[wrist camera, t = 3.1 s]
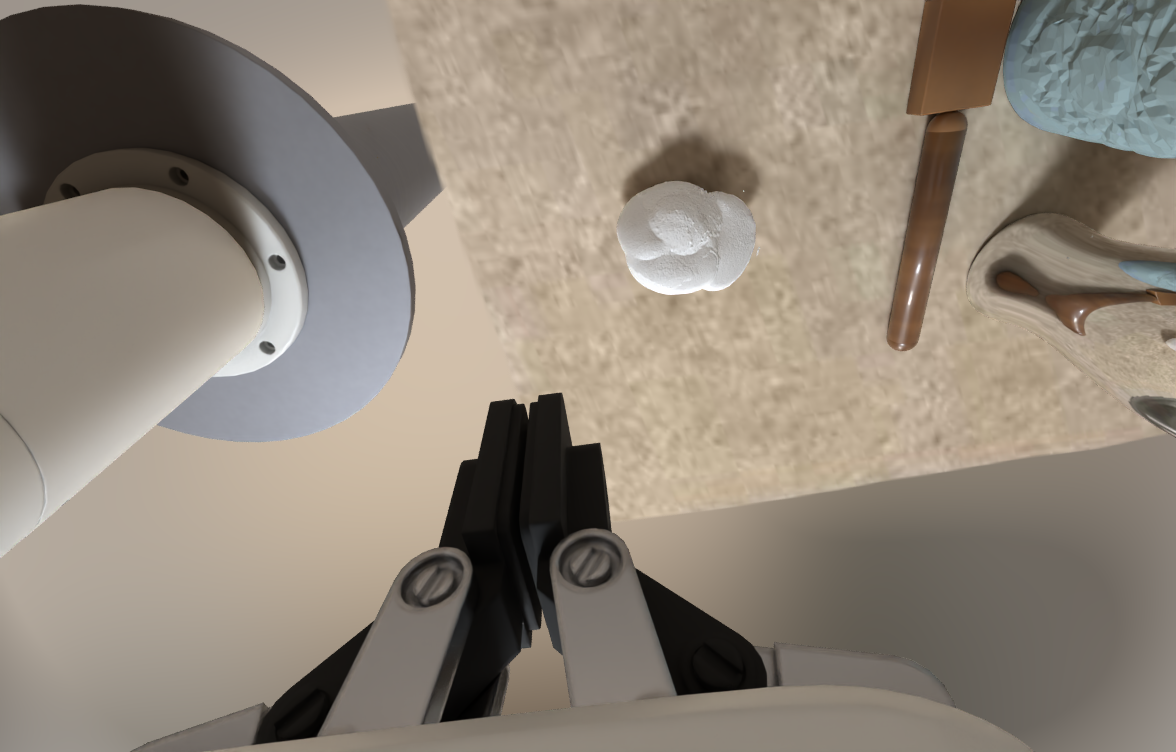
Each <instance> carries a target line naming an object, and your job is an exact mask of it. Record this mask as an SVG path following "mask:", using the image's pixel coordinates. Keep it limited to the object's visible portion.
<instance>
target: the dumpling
mask: <svg viewBox="0 0 1176 752" xmlns="http://www.w3.org/2000/svg"><path fill="white" fill-rule="evenodd" d="M743 192H744V190H743ZM755 230H756V225H755V222H754V219H753V216H752V213H751V211H750V209H749V208H748V207H747V206H746V204H745V203H744V202H743V201H742V200H741V199H739V198H738V197H736V196H735V195H730V194H726V193H724V192H722V191H720V192H718V191H715V192H712V193H711V192H709V193H707V191H704V189H703V188H700V187H699V186H695V184H690V183H689V182H682V181H669V182H667V181H665V182H664V183H661V184H660V183H659V184H658V185H657V184H656V185H655V186H653V187H651V188H650V187H649V188H648V189H646V190H643V191H642V192H640V193H637V194H636V195H635V196H633V197H632V198H631V199H630V200H629V202H628V203H627V204H626V205H625V206H624V208H623V210H622V212H621V214H620V216H619V219H618V222H617V236H618V239H619V242H620V245H621V247H622V249H623V251H624V252H625V255H626V261H627V265H628V268H629V269H630V272H631V274H632V275H633V276H634V278H635V279H636V280H637V281H638V282H639V283H641V284H642V285H643V286H645V287H646V288H648V289H651V290H653V291H656V292H659V293H663V294H671V295H673V294H686V293H691V292H695V291H698V290H700V289H705V290H708V291H718V290H722V289H724V288H726V287H728V286H730V285H731V284H732V283H733V282H734V281H736V280H737V278H738V277H739V276H740V275H741V274H742V273H743V271H744V270H745V268H746V266H747V264H748V263H749V260H750V257H751V254H752V252H753V249H754V246H755V239H756V237H755V235H756V232H755ZM759 248H760V247H758V249H757V254H758V252H759ZM756 256H757V255H756Z"/></svg>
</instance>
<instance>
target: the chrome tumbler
mask: <svg viewBox="0 0 1176 752" xmlns="http://www.w3.org/2000/svg"><path fill="white" fill-rule="evenodd" d="M966 290H967V296H968V299H969V302H970V304H971V305H972V307H973V308H974V309H975V310H976V311H977V312H979V313H980V314H982V315H984V316H986V317H988V318H991V319H993V320H997V321H1000V322H1003V323H1007V324H1010V325H1013V326H1017V327H1019V328H1022V329H1025V330H1027V331H1029V332H1031V333H1033V334H1035V335H1036V336H1038V337H1039V338H1041V339H1043V340H1044V341H1046V342H1047V343H1048V344H1049V345H1051V346H1052V347H1053V348H1054V349H1056V350H1057V351H1058V352H1059V353H1060V354H1062V355H1063V356H1064V357H1065V358H1066V359H1067V360H1068V361H1070V362H1071V363H1072V364H1073V365H1074V366H1075V367H1076V368H1078V369H1079V370H1080V371H1081V372H1082V373H1083V374H1085V375H1086V376H1087V377H1088V378H1089V379H1090V380H1092V381H1093V382H1094V383H1095V384H1096V385H1097V386H1099V387H1100V388H1101V389H1102V390H1104V391H1105V392H1106V393H1108V394H1109V395H1110V396H1112V397H1113V398H1114V399H1116V400H1117V401H1118V402H1119V403H1121V404H1122V405H1123V406H1125V407H1126V408H1127V409H1129V410H1131V411H1132V412H1134V413H1135V414H1137V415H1138V416H1140V417H1142V418H1143V419H1145V420H1146V421H1148V422H1150V423H1151V424H1153V425H1154V426H1156V427H1158V428H1159V429H1161V430H1163V431H1164V432H1166V433H1168V434H1170V435H1172V436H1174V437H1175V438H1176V248H1167V247H1157V246H1150V245H1142V244H1134V243H1129V242H1125V241H1120V240H1116V239H1113V238H1110V237H1107V236H1105V235H1102V234H1100V233H1098V232H1096V231H1094V230H1093V229H1091V228H1089V227H1087V226H1086V225H1084V224H1082V223H1080V222H1079V221H1077V220H1075V219H1073V218H1071V217H1068V216H1066V215H1062V214H1058V213H1039V214H1034V215H1030V216H1027V217H1024V218H1022V219H1020V220H1017V221H1015V222H1014V223H1012V224H1010V225H1008V226H1007V227H1005V228H1004V229H1002V230H1001V231H1000V232H998V233H997V234H996V235H995V236H994V237H993V238H992V239H991V240H990V241H989V242H988V243H987V244H986V245H985V246H984V247H983V248H982V250H981V251H980V252H979V254H978V255H977V257H976V258H975V260H974V262H973V264H972V266H971V268H970V271H969V274H968V278H967V285H966Z"/></svg>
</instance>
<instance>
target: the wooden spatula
mask: <svg viewBox="0 0 1176 752" xmlns="http://www.w3.org/2000/svg"><path fill="white" fill-rule="evenodd" d="M1015 4H1016V0H927V1H926V2H925V6H924V12H923V18H922V24H921V29H920V35H919V41H918V47H917V53H916V59H915V65H914V71H913V76H912V82H911V88H910V94H909V100H908V106H907V112H906V113H907V114H911V115H920V116H922V115H929V114H935V113H939V114H938V115H936V116H935V117H934V118H933V119H932V120H931V121H930V123H929V124H928V126H927V129H926V134H925V139H924V144H923V150H922V155H921V160H920V165H919V171H918V176H917V181H916V186H915V192H914V197H913V202H912V207H911V212H910V218H909V223H908V228H907V233H906V239H905V244H904V249H903V254H902V260H901V265H900V270H899V275H898V280H897V286H896V291H895V296H894V301H893V307H892V312H891V317H890V322H889V328H888V333H887V342H888V344H889V345H890V347H892V348H893V349H895V350H898V351H907V350H910V349H912V348H913V347H915V346H916V344H917V343H918V340H919V337H920V332H921V328H922V324H923V319H924V315H925V310H926V306H927V302H928V297H929V293H930V288H931V284H932V280H933V275H934V271H935V267H936V262H937V258H938V253H939V249H940V245H941V240H942V236H943V232H944V227H945V223H946V218H947V214H948V210H949V205H950V201H951V196H952V192H953V188H954V183H955V179H956V175H957V170H958V166H959V161H960V157H961V153H962V148H963V144H964V140H965V135H966V131H967V125H968V124H967V119H966V117H965V115H964V114H962V113H961V112H959V111H956V110H962V109H969V108H976V107H982V106H989V105H991V102H992V98H993V94H994V90H995V86H996V82H997V78H998V74H999V70H1000V66H1001V61H1002V57H1003V53H1004V49H1005V45H1006V41H1007V37H1008V33H1009V29H1010V25H1011V21H1012V17H1013V12H1014V8H1015Z"/></svg>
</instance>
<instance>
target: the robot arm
mask: <svg viewBox="0 0 1176 752" xmlns="http://www.w3.org/2000/svg"><path fill="white" fill-rule="evenodd" d="M187 175H188V176H187ZM281 257H282V258H283V259H284V260H282V259H281ZM307 310H308V287H307V282H306V276H305V271H304V268H303V266H302V263H301V261H300V258H299V255H298V253H297V250H296V248H295V247H294V245H293V243H292V242H291V240H290V238H289V237H288V235H287V233H286V231H285V230H284V228H283V227H282V226H281V225H280V223H279V222H278V221H277V220H276V218H275V217H274V216H273V215H272V214H271V212H270V211H269V210H268V209H267V208H266V207H265V206H264V205H263V204H262V203H261V202H260V201H259V200H258V199H257V198H255V197H254V196H253V195H252V194H251V193H250V192H249V191H248V190H247V189H245V188H244V187H242V186H241V185H240V184H238V183H237V182H235V181H234V180H232V179H231V178H229V177H228V176H227V175H225V174H224V173H222V172H220V171H218V170H216V169H214V168H212V167H210V166H208V165H206V164H204V163H202V162H200V161H198V160H195V159H192V158H189V157H186V156H183V155H180V154H177V153H174V152H171V151H164V150H157V149H150V148H123V149H115V150H110V151H105V152H99V153H94V154H92V155H89V156H87V157H85V158H82V159H80V160H77V161H75V162H73V163H72V164H71V165H70V166H68V167H67V168H66V169H65V170H64V171H62V172H61V173H60V174H59V175H58V176H57V177H56V179H55V180H54V182H53V183H52V185H51V186H50V188H49V189H48V191H47V193H46V197H45V200H44V204H43V205H42V206H38V207H34V208H30V209H26V210H22V211H18V212H14V213H10V214H6V215H2V216H0V558H1V557H2V556H3V555H5V554H6V553H7V552H8V551H9V550H11V549H12V548H13V547H14V546H15V545H16V544H18V543H19V542H20V541H21V540H22V539H23V538H25V537H26V536H27V535H29V534H30V533H31V532H32V531H33V530H35V529H36V528H37V527H38V526H39V525H40V524H41V523H43V522H44V521H45V520H46V519H47V518H48V517H50V516H51V515H52V514H53V513H54V512H55V511H57V510H58V509H59V508H60V507H61V506H62V505H64V504H65V503H66V502H67V501H68V500H69V499H70V498H72V497H73V496H74V495H75V494H76V493H77V492H79V491H80V490H81V489H82V488H83V487H85V486H86V485H87V484H88V483H89V482H90V481H91V480H93V479H94V478H95V477H96V476H97V475H98V474H100V473H101V472H102V471H103V470H104V469H105V468H106V467H108V466H109V465H110V464H111V463H112V462H114V461H115V459H117V458H118V457H119V456H120V455H122V454H123V453H124V452H125V451H126V450H127V449H128V448H130V447H131V446H132V445H133V444H134V443H135V442H137V441H138V440H139V439H140V438H141V437H142V436H144V435H145V434H146V433H147V432H148V431H149V430H151V429H152V428H153V427H154V426H155V425H156V424H158V423H159V422H160V421H161V420H162V419H163V418H165V417H166V416H167V415H168V414H169V413H170V412H171V411H173V410H174V409H175V408H176V407H177V406H178V405H180V404H181V403H182V402H183V401H184V400H185V399H187V398H188V397H189V396H190V395H191V394H192V393H193V392H195V391H196V390H197V389H198V388H199V387H200V386H202V385H203V384H204V383H205V382H206V381H207V380H209V379H210V378H211V377H223V376H236V375H241V374H245V373H249V372H253V371H256V370H258V369H260V368H262V367H264V366H266V365H269V364H270V363H272V362H273V361H274V360H275V359H277V358H278V357H279V356H280V355H282V354H283V353H284V352H285V351H286V350H287V349H288V348H289V347H290V345H291V344H292V343H293V342H294V341H295V340H296V338H297V336H298V334H299V333H300V331H301V329H302V327H303V325H304V321H305V317H306V314H307ZM542 610H543V614H544V618H545V621H546V625H547V627H548V630H549V634H550V637H551V641H552V644H553V648H555V649H556V650H557V651H558V652H559V653H560V654H561V655H563V659H564V665H565V672H566V678H567V685H568V692H569V698H570V705H571V708H564V709H555V710H546V711H538V712H529V713H520V714H511V715H502V716H501V712H502V708H503V703H504V699H505V695H506V690H507V686H508V682H509V673H510V667H509V663H510V662H511V661H512V660H513V659H514V658H515V657H516V656H517V655H518V654H519V653H520V652H521V649H522V648H530V647H531V642H532V630H537V629H540V628H541V617H542ZM130 752H1034V751H1033V750H1032V749H1031V748H1029V747H1028V746H1027V745H1026V744H1024V743H1023V742H1022V741H1020V740H1019V739H1017V738H1016V737H1014V736H1013V735H1011V734H1010V733H1008V732H1007V731H1005V730H1003V729H1001V728H999V727H997V726H995V725H993V724H991V723H989V722H987V721H985V720H983V719H981V718H978V717H976V716H974V715H971V714H969V713H966V712H964V711H961V710H959V709H957V708H956V706H955V703H954V701H953V699H952V698H951V696H950V694H949V692H948V691H947V689H946V688H945V685H944V684H942V682H940V680H939V679H938V678H936V677H935V675H933V674H932V673H931V672H930V671H929V670H928V669H926V668H924V667H923V666H921V665H919V664H917V663H916V662H914V661H912V660H909V659H906V658H902V657H898V656H895V655H886V654H877V653H868V652H859V651H850V650H841V649H832V648H823V647H814V646H804V645H796V644H786V643H777V642H774V648H768V647H759V646H753V645H752V644H751V643H750V642H748V641H747V640H746V639H745V638H744V637H742V636H741V635H740V634H738V633H736V632H735V631H733V630H732V629H730V628H729V627H727V626H725V625H724V624H722V623H721V622H719V621H718V620H716V619H714V618H713V617H711V616H710V615H708V614H707V613H705V612H704V611H702V610H700V609H699V608H697V607H696V606H694V605H693V604H691V603H689V602H688V601H686V600H685V599H683V598H682V597H680V596H678V595H677V594H675V593H674V592H672V591H671V590H669V589H668V588H666V587H664V586H663V585H661V584H660V583H658V582H657V581H655V580H653V579H652V578H650V577H649V576H647V575H645V574H644V573H642V572H641V571H639V570H638V569H636V568H635V567H634V564H633V562H632V558H631V555H630V552H629V549H628V548H627V546H626V544H625V542H624V541H623V540H622V539H621V538H620V537H619V536H617V535H616V534H615V533H612V530H611V521H610V512H609V503H608V494H607V486H606V479H605V471H604V465H603V458H602V451H601V445H600V443H594V444H586V445H579V446H572V442H571V436H570V431H569V426H568V420H567V415H566V410H565V404H564V399H563V395H562V392H561V393H554V394H546V395H539V396H538V402H532V403H530V411H529V420H528V416H527V411H526V407H525V405H524V404H517V403H516V401H515V399H510V400H502V401H495V402H491V403H490V406H489V411H488V415H487V420H486V425H485V429H484V433H483V438H482V442H481V447H480V451H479V456H478V459H472V460H465V461H463V462H462V463H461V465H460V468H459V473H458V476H457V480H456V484H455V487H454V491H453V495H452V498H451V503H450V506H449V510H448V514H447V517H446V521H445V525H444V529H443V533H442V536H441V540H440V544H439V548H434V549H431V550H429V551H426V552H424V553H421V554H420V555H418V556H417V557H415V558H413V559H412V560H411V561H410V562H408V563H407V564H406V565H405V566H404V567H403V568H402V569H401V571H400V572H399V574H398V575H397V577H396V578H395V580H394V582H393V584H392V586H391V588H390V590H389V592H388V594H387V596H386V598H385V600H384V602H383V604H382V606H381V608H380V610H379V612H378V614H377V617H376V619H375V620H374V621H373V622H372V623H371V624H369V625H368V626H367V627H366V628H365V629H363V630H362V631H361V632H359V633H358V634H357V635H356V636H355V637H353V638H352V639H351V640H350V641H348V642H347V643H346V644H345V645H343V646H342V647H341V648H340V649H338V650H337V651H336V652H335V653H334V654H332V655H331V656H330V657H328V658H327V659H326V660H325V661H323V662H322V663H321V664H320V665H318V666H317V667H316V668H315V669H313V670H312V671H311V672H310V673H309V674H307V675H306V676H305V677H304V678H302V679H301V680H300V681H299V682H297V683H296V684H295V685H294V686H292V687H291V688H290V689H289V690H288V691H287V692H286V693H284V694H283V695H282V697H280V698H279V699H278V700H277V701H276V702H275V704H274V705H273V706H272V707H269V708H268V707H267V706H266V705H265V704H264V703H261V704H258V705H255V706H252V707H249V708H246V709H244V710H241V711H238V712H235V713H232V714H229V715H227V716H224V717H220V718H217V719H215V720H212V721H209V722H206V723H203V724H200V725H197V726H194V727H191V728H189V729H186V730H183V731H180V732H177V733H174V734H171V735H168V736H165V737H162V738H160V739H157V740H154V741H151V742H148V743H146V744H144V745H142V746H140V747H138V748H136V749H134V750H132V751H130Z"/></svg>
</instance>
